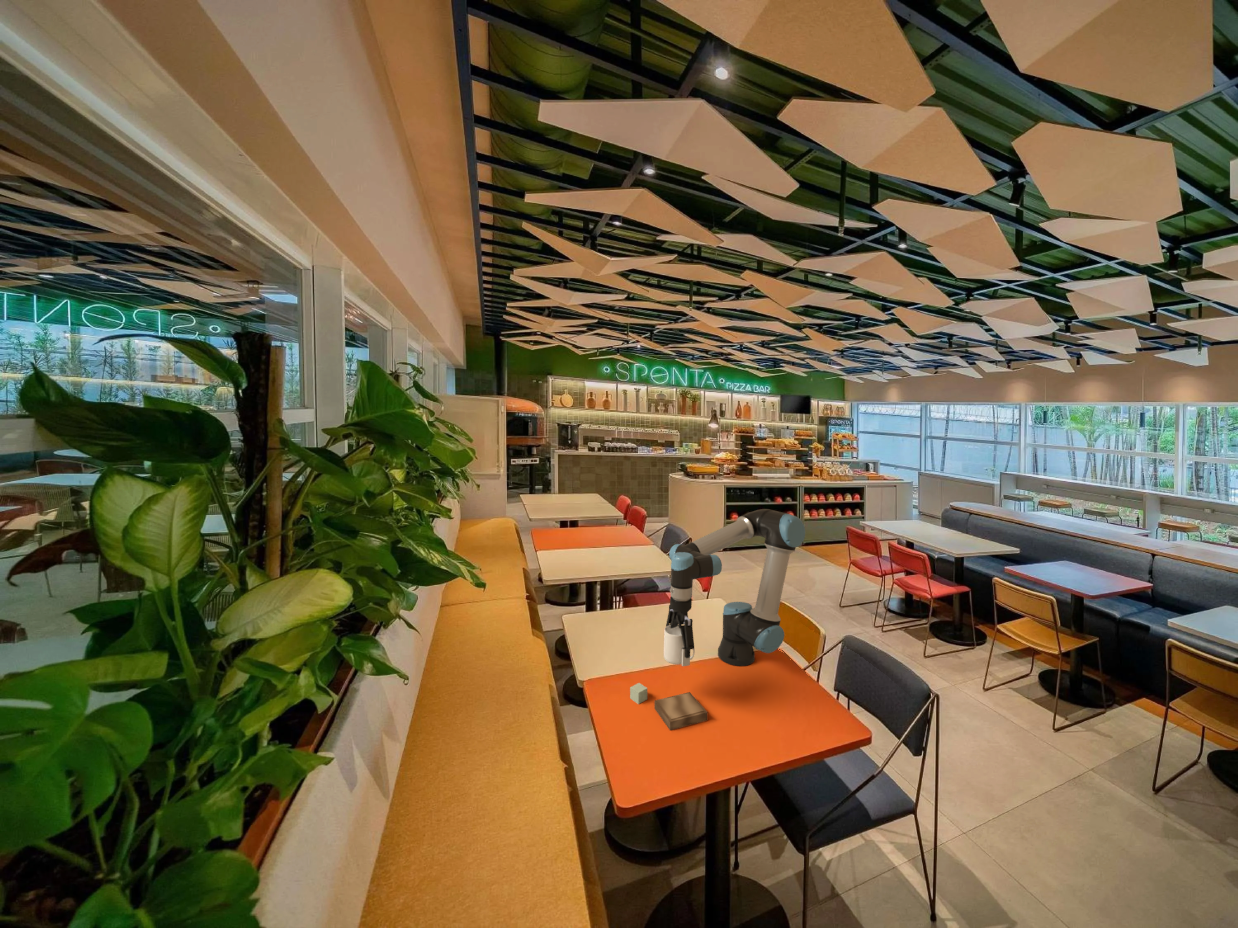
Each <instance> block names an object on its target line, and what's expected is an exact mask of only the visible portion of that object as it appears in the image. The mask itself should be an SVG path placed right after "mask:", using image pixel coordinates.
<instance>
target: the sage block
mask: <svg viewBox="0 0 1238 928" xmlns="http://www.w3.org/2000/svg"><path fill="white" fill-rule="evenodd" d="M629 694H630V695H629V698H630V700H632V701H633V702H634V703H636V704H637V705H640V704H642V703H643V702H646V701H647V700H648V687H647V686H644V685H643V684H642V683H640V682H638V683H635V684H634V685H632V686H630V687H629Z"/></svg>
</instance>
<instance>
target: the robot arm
mask: <svg viewBox="0 0 1238 928" xmlns="http://www.w3.org/2000/svg"><path fill="white" fill-rule="evenodd" d="M754 537H762V538H765V539H764V546H765V547H766V553H765V559H764V564H763V568H762V573H761V578H760V581H759V582H760V583H759V587H758V591H757V592H758V593H757V595H756V597H757V598H756V602H755V607H754V608H753V606H752V604H750V603H748V602H744V601H732V602H731V601H730V602H728V603H726V604H724V606H723V612H722V637H721V640H720V642H719V643H720V644H719V646H718V649H717V656H718V659H719V660H721V661H722V662H724V663H726V664H728V665H730V666H737V667H746V666H750V665H752V664H753V663H754V662H755V660H756V659H755V657H756V653H755V650H754V649H756V650H758V651H761V652H762V653H765V654H771V653H773V652H775V651H776V650H777V649H779V648H780V646H781V645H782V643H783V641H784V639H785V631H784V628H782V626H780V624H781V617H780V615H779V608H780V604H781V598H782V595H783V591H784V590H783V588H784V583H785V579H786V574H787V570H788V565H789V560H790V555H791V554H793V553H794V552H795V551H796V548H798V547H799V546H801V545H802V543H803V542H804V540H805V538H806V526H805V524H804V522H803V521H802V519H801V518H799V517H798V516H796V515H793V514H790V513H785V512H781V511H778V510H774V509H769V508H762V509H761V508H760V509H757V510H754V511H750V512H747V513H744V514H742V515H741V516H738V517H737V519H736V521H734V522H732V523H729V524H727V525H725V526H723V527H721V528H718V529H717V530H714V531H713V532H710V533H708V534H705V535H704V536H702V537H700V538H697V539H695V540H693V541H691V542H688V543H686V544H681V543H676V544H674V545H673V546H671V547H670V549H669V553H668V555H669V559H670V560H671V564H670V568H671V569H670V588H669V592H670V597H669V605H668V613H667V619H666V623H665V624H666V625H665V627H667V626H669V625H671V628H675V627H677V626H679V628H680V629H681V635H682V640H683V645H684V647H682V664H681V667H687V666H691V660H690V656H691V650H693V649H695V641H694V639H695V638H694V631H693V618H689V613H688V612H689V611H690V610H692V604H693V600H692V597H693V582H694V580H699V579H704V578H709V577H711V578H712V577H715V576H718V575H720V574H721V572H722V569H723V562H722V560H721V558H720V557H719V556H718V555H717V554H715V553H717V552H719V551H721V550H724V549H726V548H728V547H729V546H732V545H734V544H735V543H738V542H740V541H742V540H744V539H748V540H749V539H752V538H754Z"/></svg>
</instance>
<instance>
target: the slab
mask: <svg viewBox="0 0 1238 928" xmlns="http://www.w3.org/2000/svg"><path fill="white" fill-rule="evenodd" d="M654 710H655V712H656V713H657V714H658V716H659V717H660V718H661V720H662V721H663V723H664V724H665V725H666V727H667V728H668V730H669V731H672V730H677V729H681V728H684V727H687V726H693V725H695V724H699V723H703V722H707V721H708V711H707V710H706V708H705V707H704V706H703V705H702V704H701V703H700V702H699V701H698V700H697V699H696V697H695V696H694V695H693V693H691V692H690V691H689V692H684V693H681V694H676V695H672V696H668V697H664V698H660V699H656V700H655V699H654Z"/></svg>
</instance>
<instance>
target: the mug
mask: <svg viewBox="0 0 1238 928" xmlns="http://www.w3.org/2000/svg"><path fill="white" fill-rule="evenodd" d="M663 631H664V632H663V635H664V637H663V659H664V661H666V662H667V663H668V664H671V665H682V647H684V645H683V640H682V635H681V629H680V628H679V626H677V627H675V628H671V625H669V626H667V627H666V626H665V627H664V630H663ZM695 649H696V648H694V649H692V652H693V653H692V655H690V661H691V660H692V659H694V657H695V653H696V652H695Z"/></svg>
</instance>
